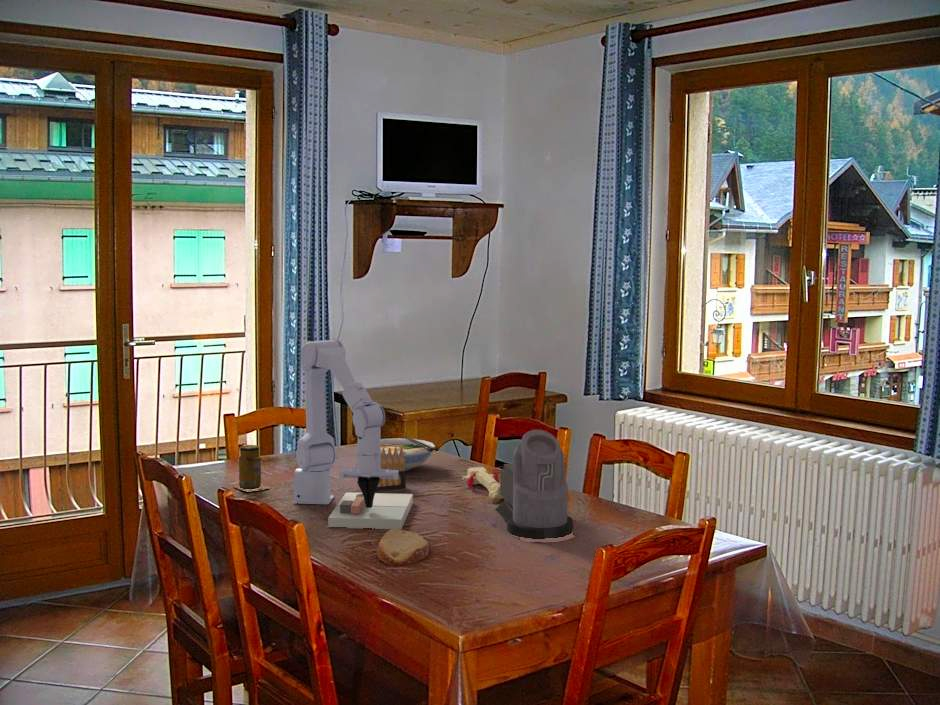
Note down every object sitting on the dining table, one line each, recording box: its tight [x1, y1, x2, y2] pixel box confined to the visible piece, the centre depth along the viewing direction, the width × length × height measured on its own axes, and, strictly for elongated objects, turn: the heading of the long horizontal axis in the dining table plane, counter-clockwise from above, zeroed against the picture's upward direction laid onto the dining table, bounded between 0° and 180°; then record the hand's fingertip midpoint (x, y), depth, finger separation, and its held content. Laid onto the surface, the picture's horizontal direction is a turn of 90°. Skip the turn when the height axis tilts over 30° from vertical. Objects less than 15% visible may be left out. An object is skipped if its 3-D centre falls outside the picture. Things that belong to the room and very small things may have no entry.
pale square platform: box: [327, 492, 414, 530], centre depth 257 cm, size 18×24×5 cm
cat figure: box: [462, 466, 506, 504], centre depth 282 cm, size 10×9×25 cm
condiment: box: [238, 444, 262, 489], centre depth 282 cm, size 7×8×12 cm
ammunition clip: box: [376, 446, 406, 492], centre depth 283 cm, size 11×2×12 cm, turn 114°
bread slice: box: [376, 529, 430, 567], centre depth 229 cm, size 18×18×4 cm
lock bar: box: [351, 494, 365, 514], centre depth 254 cm, size 12×3×2 cm, turn 177°
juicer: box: [494, 429, 574, 539], centre depth 249 cm, size 30×16×24 cm, turn 14°
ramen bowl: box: [381, 435, 439, 472], centre depth 307 cm, size 25×23×8 cm
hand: (369, 506), depth 251 cm, fingers closed
